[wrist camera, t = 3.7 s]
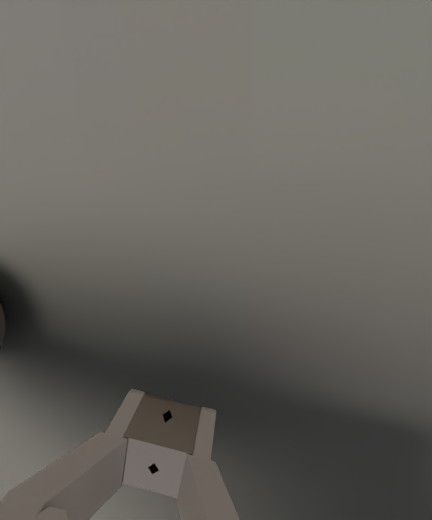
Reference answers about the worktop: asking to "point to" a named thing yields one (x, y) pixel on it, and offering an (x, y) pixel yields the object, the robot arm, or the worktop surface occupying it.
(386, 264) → the worktop surface
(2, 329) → the dark gray ball
